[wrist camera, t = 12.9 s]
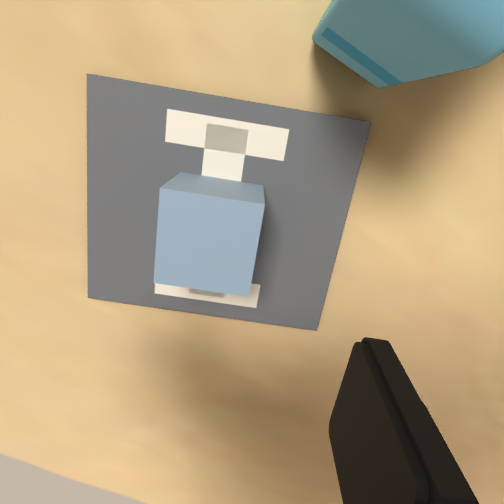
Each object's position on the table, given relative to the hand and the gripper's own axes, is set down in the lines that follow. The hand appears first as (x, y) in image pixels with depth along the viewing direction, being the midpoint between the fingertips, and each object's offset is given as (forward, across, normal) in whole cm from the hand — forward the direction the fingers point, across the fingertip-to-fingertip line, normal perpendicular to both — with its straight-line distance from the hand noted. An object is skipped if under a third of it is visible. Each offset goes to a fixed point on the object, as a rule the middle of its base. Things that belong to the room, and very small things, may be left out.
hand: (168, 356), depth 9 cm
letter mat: (+15, 0, +1) cm, 15 cm away
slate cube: (+14, 0, +1) cm, 14 cm away
